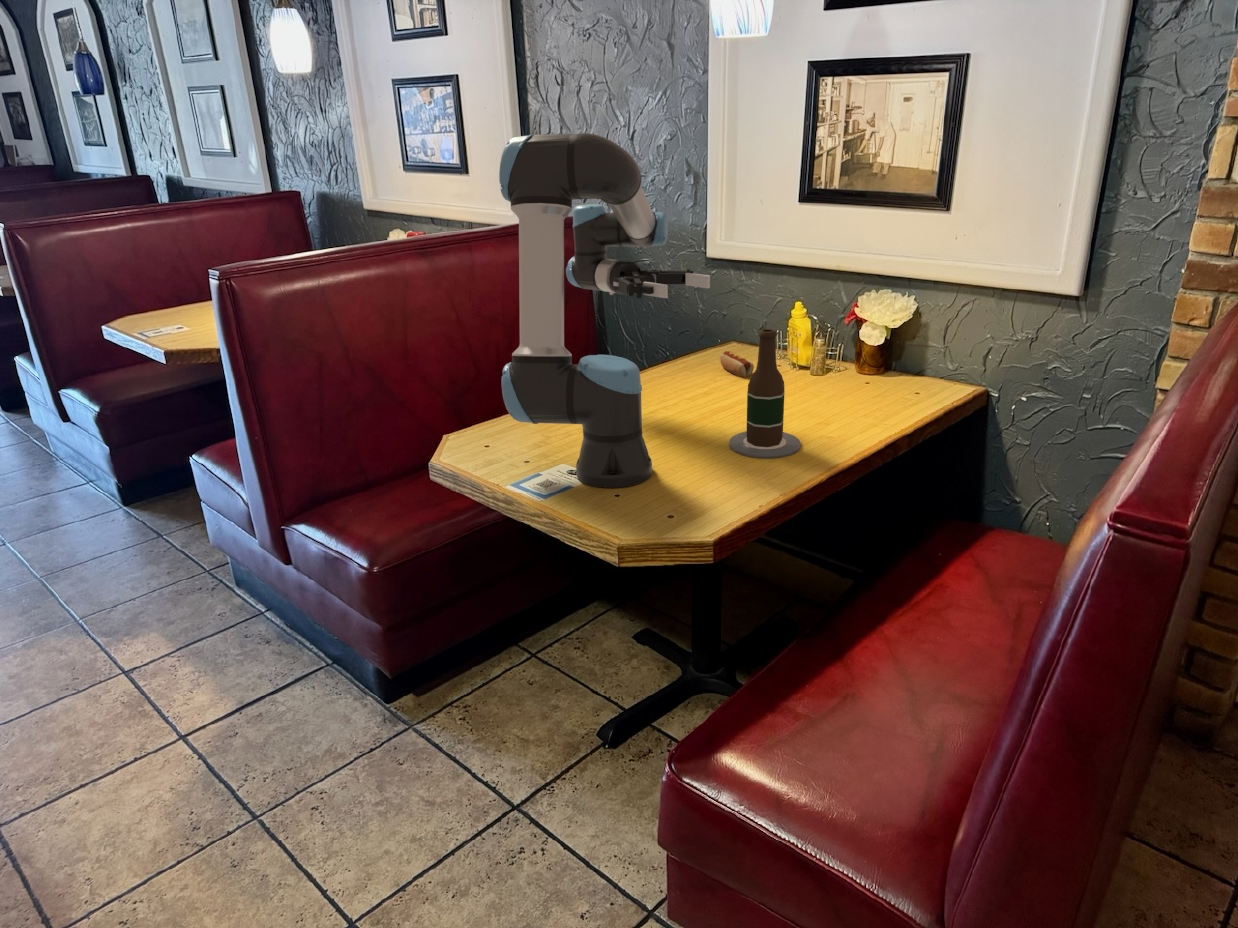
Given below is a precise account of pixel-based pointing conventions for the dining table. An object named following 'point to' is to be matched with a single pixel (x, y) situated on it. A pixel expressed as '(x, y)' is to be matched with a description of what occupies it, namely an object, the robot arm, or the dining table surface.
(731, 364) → the food
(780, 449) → the slate coaster
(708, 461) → the dining table surface
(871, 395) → the dining table surface
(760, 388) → the beer bottle
